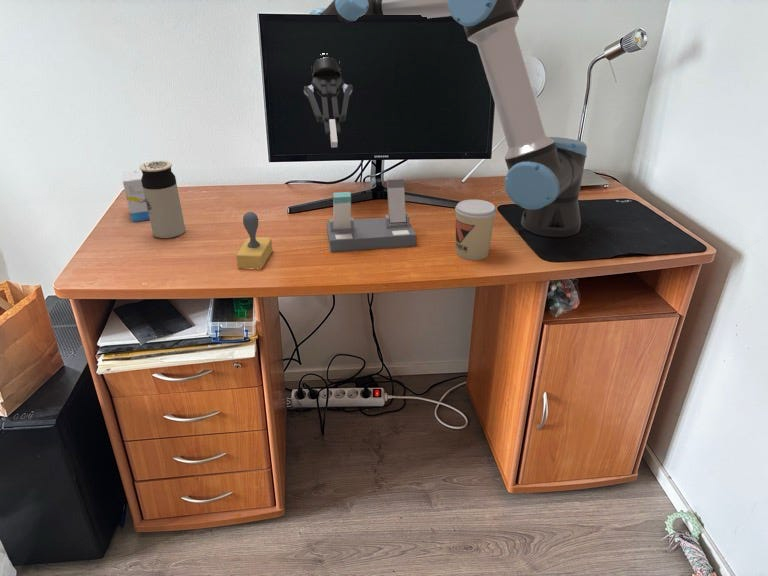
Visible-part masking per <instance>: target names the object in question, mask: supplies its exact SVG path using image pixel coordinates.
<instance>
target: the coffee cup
mask: <svg viewBox="0 0 768 576" xmlns="http://www.w3.org/2000/svg"><path fill="white" fill-rule="evenodd" d="M454 209H455V253H456V255H457V257H460V258H461V257H462V259H465V260H468V259H469V261H479V260H484V259H485V258H487V257H488V255H489V252H490V246H491V241H492V235H493V231H494V223H495V217H496V214H497V209H496V206H495V205H494V203H492V202H489V201H487V200H483V199H464V200H461V201H459V202H458V203H457V204H456V206H455V208H454Z"/></svg>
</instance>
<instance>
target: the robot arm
mask: <svg viewBox="0 0 768 576" xmlns="http://www.w3.org/2000/svg"><path fill="white" fill-rule="evenodd" d="M524 1H525V0H333V1H331V3H330V4H329V5H328V6H327V7H326V8H323V7H321V8H320V7H318V8H316V9H315V10H312V11H310V12H309V14H320V15H338V17H340V18H338V19H339V20H340V21H341V22H347V23H348V22H353V21H356V20H357V19H358V18H359V17H361V16H363V15H421V16H422V17H427V19H432V18H433V19H434V18H443V17H444V18H445V17H452V19H453V20H455V22H456V23H458V24H459V25H461V26H463V29H464V32H465V35H466V37H467V40H468V42H470V43H473V44H474V45H476V46H477V49H478V54H479V56H480V60H481V62H482V66H483V69H484V73H485V76H486V80H487V82H488V86H489V88H490V92H491V95H492V98H493V102H494V105H495V109H496V112H497V116H498V118H499V121H500V122H499V123H500V124H501V128H502V131H503V134H504V135H503V136H504V137H505V140H506V141H505V142H506V145H507V148H508V149H507V152H506V153H505V155H504V161H505V163H506V164H505V165H506V167H507V173H506V176H505V178H504V188H505V192H506V194H507V197H509V200H511V202H513V203H514V204H515V205H517V206H519V207H521V208H522V209H524V211H522V214H521V215H522V216H521V221H520V225H521V226H522V228H523V229H524V230H526V231H528V232H529V231H530V233H532V234H535V235H538V236H543V237H547V238H549V237H550V238H566V237H572V236H574V235H576V234H578V233H579V232H580V230H581V224H582V219H581V213H580V206H579V197H580V192H581V185H582V180H583V179H582V178H583V174H584V168H585V163H586V158H587V153H588V151H587V150H588V147H587V144H586V143H585V142H584V141H581V140H578V139H573V138H568V137H567V138H566V137H558V136H548V135H546V133H545V129H544V126H543V123H542V119H541V115H540V112H539V109H538V105H537V102H536V98H535V96H534V91H533V88H532V84H531V82H530V78H529V74H528V70H527V68H526V64H525V63H526V62H525V61H524V57H523V53H522V50H521V46H520V43H519V39H518V36H517V33H516V26H517V25H518V22H519V20H520V18H519V17H520V16H519V13H518V11H519V10H520V9H521V7H522V5H523V4H524ZM320 55H321V54H320ZM322 55H325V53H322ZM322 55H321V56H322ZM326 55H328V53H326ZM340 71H341V67H340V68H339V66H338V63H337V62H336V60H335V59H333V58H329V57H323V58H320V59H317V60H316V61H315V63H314V66H313V73H312V72H311V74H312V75H311V76H313V77H312V80H311V84H310V85H304V86H303V95H305V97H306V98H307V99H308V100H309V103H310V104H309V105H310V106H311V108H312V111H313V115H314V117H315V119H316V122H317V123H319V124H320V123H322V124H323V125H324V131H325V132H324V133H325V135H326V136H328V135H329V139H330V147H331V148H338V143H339V142H338V141H339V140H338V135H340V134H341V122H343V123H344V122H345V121H346V118H347V111H348V106H349V100H350V97H351V95H352V93H353V88H354V87H353V85H352V84H351V83H350V84H346V83H345V81H344V79H343V78H342V73H341V72H340ZM342 90H343V91H342ZM314 91H315V93H317V95H319V97H320V98H321V105H322V112H321V110H320V107H319V104H318V102H317V99H316V97H315V95H314V94H315V93H314ZM341 91H342V93H343V94H344V95H343V100H342V107H341V113H340V112H339V105H338V96H339V94H340V92H341ZM329 98H330V99H331V105H332V114H333V115H332V116H333V119H332V118H330V113H329V104H328V99H329ZM339 113H340V114H339Z"/></svg>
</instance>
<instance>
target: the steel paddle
mask: <svg viewBox="0 0 768 576" xmlns="http://www.w3.org/2000/svg"><path fill="white" fill-rule="evenodd" d="M386 185H387V186H386V188H387V189H386V190H387V205H388V207H387V208H388V217H389V223H390V224H395V223H406V214H407V212H406V198H405V178H404V179H403V178H402V179H387V180H386Z"/></svg>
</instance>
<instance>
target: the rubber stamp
mask: <svg viewBox="0 0 768 576" xmlns="http://www.w3.org/2000/svg"><path fill="white" fill-rule="evenodd" d="M242 222H243V227H244V229H245V230H246V232H247V233H248V236H249V237H247V238H246V240H245V241H244V242H243V244H242V246H241V247H240V248H239V250H238V252H237V253H236V255H235V256H236V257H235V258H236V263H237V264H236V265H237V268H238V269H239V268H254V269H253V270H259V269H261V268H262V269H263V268H264V267H265V265H266V263H267V261H268V259H269V257H270V256H271V253H272V252H273V243H272V241H273V240H272V238H271V237H266V236H265V237H263V236H262V237H259V236H257V231H258V228H259V218H258V215H257V213H255V212H254V211H247V212H246V213H245V214H244V215H243V216H242ZM257 268H258V269H257ZM262 269H261V270H262Z"/></svg>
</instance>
